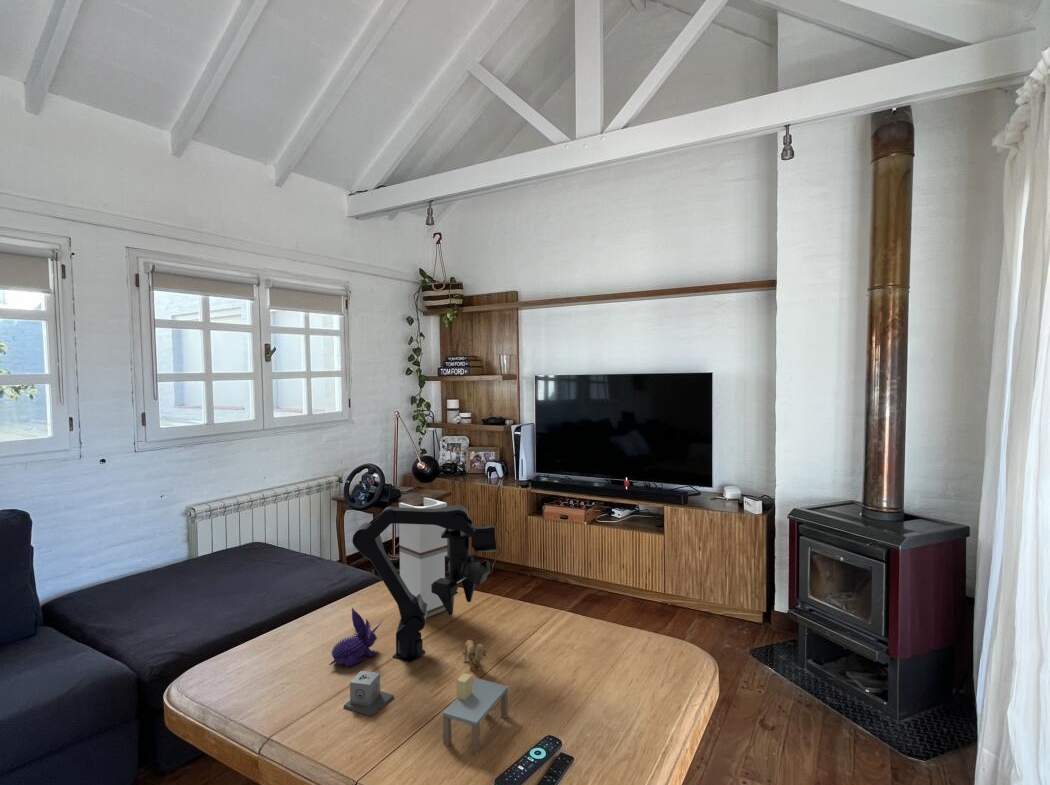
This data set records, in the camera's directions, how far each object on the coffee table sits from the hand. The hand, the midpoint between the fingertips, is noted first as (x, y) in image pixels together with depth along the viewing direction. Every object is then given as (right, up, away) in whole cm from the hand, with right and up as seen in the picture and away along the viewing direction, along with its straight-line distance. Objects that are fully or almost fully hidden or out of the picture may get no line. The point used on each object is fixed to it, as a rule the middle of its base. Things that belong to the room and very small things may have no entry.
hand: (459, 608), depth 152 cm
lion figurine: (+4, -13, -7) cm, 15 cm away
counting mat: (-19, -13, -23) cm, 32 cm away
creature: (-28, -13, -2) cm, 31 cm away
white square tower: (-15, -11, +28) cm, 34 cm away
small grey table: (+8, -13, -33) cm, 37 cm away
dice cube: (-20, -13, -22) cm, 32 cm away
